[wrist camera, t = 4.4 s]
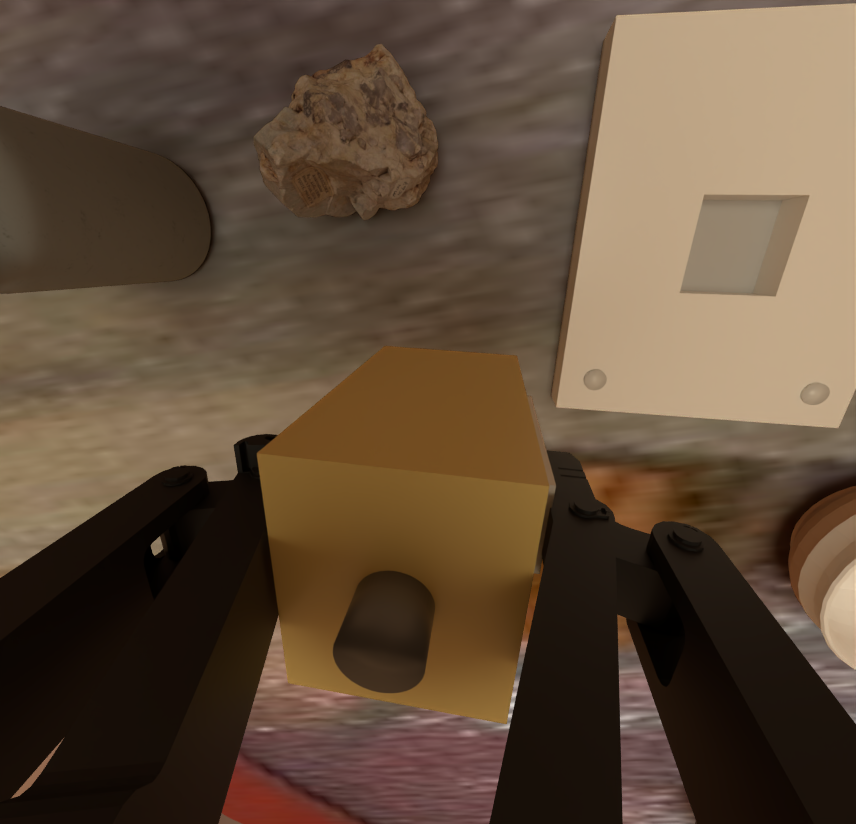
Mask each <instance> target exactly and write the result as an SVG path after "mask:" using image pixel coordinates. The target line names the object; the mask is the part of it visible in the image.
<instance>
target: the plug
mask: <svg viewBox="0 0 856 824" xmlns="http://www.w3.org/2000/svg"><path fill="white" fill-rule="evenodd" d="M257 459H258V467H259V474H260V481H261V489H262V496H263V503H264V510H265V518H266V525H267V532H268V540H269V547H270V554H271V562H272V569H273V576H274V583H275V591H276V598H277V605H278V613H279V620H280V627H281V635H282V642H283V649H284V657H285V664H286V671H287V678H288V683H291V684H296V685H301V686H307V687H312V688H317V689H323V690H328V691H333V692H339V693H344V694H349V695H354V696H360V697H365V698H370V699H376V700H381V701H386V702H392V703H397V704H402V705H408V706H413V707H418V708H423V709H429V710H434V711H439V712H445V713H450V714H455V715H461V716H466V717H471V718H477V719H482V720H487V721H493V722H498V723H503V724H507V718H508V713H509V707H510V702H511V696H512V691H513V685H514V680H515V674H516V669H517V663H518V657H519V652H520V646H521V641H522V635H523V630H524V624H525V619H526V613H527V608H528V602H529V597H530V591H531V586H532V580H533V575H534V569H535V564H536V558H537V553H538V547H539V542H540V536H541V530H542V525H543V519H544V514H545V508H546V503H547V497H548V492H549V482H548V478H547V474H546V470H545V466H544V462H543V458H542V454H541V450H540V446H539V442H538V438H537V434H536V430H535V426H534V422H533V418H532V414H531V410H530V406H529V402H528V398H527V394H526V390H525V386H524V382H523V378H522V374H521V370H520V366H519V362H518V358H517V356H515V355H502V354H488V353H475V352H461V351H448V350H434V349H421V348H407V347H393V346H384V347H383V348H382V349H381V350H379V351H378V352H377V353H376V354H375V355H373V356H372V357H371V358H370V359H369V360H367V361H366V362H365V363H364V364H363V365H361V366H360V367H359V368H358V369H357V370H356V371H354V372H353V373H352V374H351V375H350V376H348V377H347V378H346V379H345V380H344V381H342V382H341V383H340V384H339V385H338V386H336V387H335V388H334V389H333V390H332V391H330V392H329V393H328V394H327V395H326V396H324V397H323V398H322V399H321V400H320V401H318V402H317V403H316V404H315V405H314V406H313V407H311V408H310V409H309V410H308V411H307V412H305V413H304V414H303V415H302V416H301V417H299V418H298V419H297V420H296V421H295V422H293V423H292V424H291V425H290V426H289V427H287V428H286V429H285V430H284V431H283V432H281V433H280V434H279V435H278V436H277V437H275V438H274V439H273V440H272V441H271V442H270V443H268V444H267V445H266V446H265V447H264V448H262V449H261V450H260V451H259V452H258V453H257Z"/></svg>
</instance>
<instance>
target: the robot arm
mask: <svg viewBox="0 0 856 824" xmlns="http://www.w3.org/2000/svg"><path fill="white" fill-rule="evenodd" d="M527 398H528V402H529V406H530V410H531V414H532V418H533V422H534V426H535V430H536V434H537V438H538V442H539V446H540V450H541V454H542V458H543V462H544V466H545V470H546V474H547V478H548V482H549V492H548V497H547V503H546V508H545V514H544V519H543V525H542V530H541V536H540V542H539V547H538V553H537V558H536V564H535V569H534V573H537V574H540V568H541V563H542V559H543V565H544V568H543V573H542V577H541V582H540V587H539V592H538V596H537V601H536V606H535V610H534V615H533V620H532V625H531V629H530V634H529V639H528V644H527V648H526V653H525V658H524V663H523V667H522V672H521V677H520V681H519V686H518V691H517V696H516V700H515V705H514V710H513V715H512V719H511V724H510V729H509V734H508V738H507V743H506V748H505V752H504V757H503V762H502V767H501V771H500V776H499V781H498V786H497V790H496V795H495V800H494V804H493V809H492V814H491V819H490V823H489V824H623V823H622V784H621V744H620V704H619V665H618V625H617V614H618V615H621V616H623V617H626V621H627V625H628V628H629V631H630V633H631V636H632V639H633V642H634V645H635V648H636V651H637V653H638V656H639V659H640V662H641V665H642V668H643V671H644V673H645V676H646V679H647V682H648V685H649V688H650V691H651V693H652V696H653V699H654V702H655V705H656V708H657V710H658V713H659V716H660V719H661V722H662V725H663V728H664V730H665V733H666V736H667V739H668V742H669V745H670V748H671V750H672V753H673V756H674V759H675V762H676V765H677V768H678V770H679V773H680V776H681V779H682V782H683V785H684V788H685V790H686V793H687V796H688V799H689V802H690V805H691V807H692V810H693V813H694V816H695V819H696V822H697V824H856V724H855V723H854V721H853V720H852V719H851V717H850V716H849V715H848V713H847V712H846V711H845V709H844V708H843V707H842V706H841V704H840V703H839V702H838V700H837V699H836V698H835V696H834V695H833V694H832V692H831V691H830V690H829V689H828V687H827V686H826V685H825V683H824V682H823V681H822V679H821V678H820V677H819V675H818V674H817V673H816V672H815V670H814V669H813V668H812V666H811V665H810V664H809V662H808V661H807V660H806V658H805V657H804V656H803V654H802V653H801V652H800V651H799V649H798V648H797V647H796V645H795V644H794V643H793V641H792V640H791V639H790V637H789V636H788V635H787V634H786V632H785V631H784V630H783V628H782V627H781V626H780V624H779V623H778V622H777V620H776V619H775V618H774V617H773V615H772V614H771V613H770V611H769V610H768V609H767V607H766V606H765V605H764V603H763V602H762V601H761V600H760V598H759V597H758V596H757V594H756V593H755V592H754V590H753V589H752V588H751V586H750V585H749V584H748V583H747V581H746V580H745V579H744V577H743V576H742V575H741V573H740V572H739V571H738V569H737V568H736V567H735V566H734V564H733V563H732V562H731V560H730V559H729V558H728V556H727V555H726V554H725V552H724V551H723V550H722V548H721V547H720V546H719V545H718V544H717V543H716V542H715V541H714V540H713V539H712V538H711V537H710V536H708V535H707V534H705V533H703V532H702V531H700V530H699V529H697V528H695V527H693V526H692V527H691V526H690V525H687V524H682V523H677V522H660V523H657V524H655V526H654V527H653V529H652V531H651V534H647V533H644V532H641V531H638V530H634V529H631V528H628V527H626V526H623V525H621V524H619V523H617V522H615V517H614V514H613V512H612V511H611V510H610V509H609V508H608V507H607V506H606V505H605V504H603V503H601V502H600V501H598V500H596V499H595V497H594V495H593V492H592V490H591V488H590V485H589V483H588V480H587V479H586V476H585V473H584V472H583V469H582V466H581V464H580V462H579V461H578V460H577V459H576V458H575V457H574V456H573V455H571V454H570V453H566V452H556V451H547V450H546V447H545V444H544V440H543V437H542V433H541V430H540V426H539V422H538V419H537V415H536V412H535V408H534V404H533V401H532V397H531V396H527ZM277 436H278V435H272V434H263V435H255V436H251V437H247V438H244V439H242V440H240V441H238V442H237V443H236V444H235V445H234V451H235V457H236V463H237V469H238V474H237V475H236V477H235V478H234V480H229V481H214V482H208V478H207V472H206V471H205V470H204V469H203V468H201V467H197V466H186V465H185V466H180V467H179V466H177V467H173V468H171V469H169V470H165V471H163V472H161V473H159V474H157V475H155V476H153V477H152V478H150V479H149V480H147V481H146V482H144V483H143V484H141V485H140V486H138V487H137V488H135V489H134V490H132V491H131V492H129V493H128V494H126V495H125V496H123V497H122V498H120V499H119V500H117V501H116V502H114V503H113V504H111V505H110V506H108V507H107V508H105V509H104V510H102V511H101V512H99V513H98V514H96V515H95V516H93V517H92V518H90V519H89V520H87V521H86V522H84V523H83V524H81V525H79V526H78V527H76V528H75V529H73V530H72V531H70V532H69V533H67V534H66V535H64V536H63V537H61V538H60V539H58V540H57V541H55V542H54V543H52V544H51V545H49V546H48V547H46V548H45V549H43V550H42V551H40V552H39V553H37V554H36V555H34V556H33V557H31V558H30V559H28V560H27V561H25V562H24V563H22V564H21V565H19V566H18V567H16V568H15V569H13V570H12V571H10V572H9V573H7V574H6V575H4V576H3V577H1V578H0V824H218V823H219V819H220V816H221V812H222V809H223V806H224V802H225V799H226V795H227V792H228V788H229V785H230V781H231V778H232V774H233V771H234V767H235V764H236V760H237V757H238V753H239V750H240V747H241V743H242V740H243V736H244V733H245V729H246V726H247V722H248V719H249V715H250V712H251V708H252V705H253V701H254V698H255V695H256V691H257V688H258V684H259V681H260V677H261V674H262V670H263V667H264V663H265V660H266V656H267V653H268V649H269V646H270V642H271V639H272V636H273V632H274V629H275V625H276V622H277V618H278V615H279V613H278V605H277V598H276V591H275V583H274V576H273V569H272V562H271V554H270V547H269V540H268V532H267V525H266V518H265V510H264V503H263V496H262V489H261V481H260V474H259V467H258V459H257V453H258V452H259V451H260V450H261V449H262V448H264V447H265V446H266V445H267V444H268V443H270V442H271V441H272V440H273V439H274V438H275V437H277ZM159 536H160V538H161V541H162V545H163V550H162V551H161V552H160V553H158V554H157V555H155V556H154V555H153V553H152V550H151V546H150V545H151V544H152V543H153V542H154V541H155V540H156V539H157V538H158V537H159ZM64 737H65V738H64ZM63 738H64V739H63ZM62 739H63V741H62V742H61V740H62ZM60 742H61V744H60V745H59V747H58V748H57V750H56V751H55V753H54V755H53V756H52V758H51V759H50V761H49V762H48V764H47V765H46V767H45V769H44V770H43V771H42V773H41V774H40V775H39V777H38V778H37V779H36V781H35V782H34V783H33V784H32V786H31V787H30V788H28V789H27V790H26V791H25V792H24V793H22V794H21V795H20V796H18V797H15V798H12V796H13V795H14V794H15V793H16V792H17V791H18V790H19V788H20V787H21V786H22V785H23V784H24V783H25V781H26V780H27V779H28V778H29V777H30V776H31V775H32V774H33V772H34V771H35V770H36V769H37V768H38V767H39V765H40V764H41V763H42V762H43V761H44V760H45V759H46V758H47V756H48V755H49V754H50V753H51V752H52V751H53V750H54V748H55V747H56V746H57V745H58V744H59V743H60Z"/></svg>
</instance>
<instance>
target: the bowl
mask: <svg viewBox="0 0 856 824" xmlns="http://www.w3.org/2000/svg"><path fill="white" fill-rule="evenodd" d="M788 566H789V574H790V581H791V587H792V589H793V591H794V593H795V596H796V598H797V599H798V601H799V602H800V604H801V605H802V607H803V609H804V611H805V613H806V614H807V615H808V616H809V617H810V619H811V620H812V621H813V622H814V623H815V624H816V625H817V626H818V627H819V628H820V629H821V631H822V634H823V636H824V638H825V641H826V643H827V645H828V646H829V647H830V649H831V650H832V651H833V652H834V653H835V655H836V656H837V657H838V658H839V659H841V660H842V661H843V662H845V663H846V664H848V665H849V666H850V667H852V668H853V669H855V670H856V486H853V487H849V488H847V489H844V490H841V491H838V492H835V493H833V494H831V495H829V496H827V497H825V498H823V499H822V500H820V501H819V502H817V503H816V504H814V505H813V506H812V507H811V508H810V509H809V510H807V511H806V512H805V513H804V514H803V515H802V517H801V518H800V519H799V521H798V522H797V524H796V525H795V528H794V530H793V532H792V535H791V541H790V553H789V559H788Z"/></svg>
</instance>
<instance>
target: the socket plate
mask: <svg viewBox="0 0 856 824" xmlns="http://www.w3.org/2000/svg"><path fill="white" fill-rule="evenodd" d="M855 389H856V3H855V4H835V5H815V6H795V7H775V8H755V9H736V10H716V11H696V12H676V13H656V14H636V15H617V16H616V18H615V20H614V22H613V24H612V26H611V27H610V29H609V31H608V33H607V35H606V37H605V39H604V41H603V46H602V53H601V59H600V66H599V73H598V80H597V86H596V93H595V100H594V107H593V114H592V120H591V127H590V134H589V141H588V147H587V154H586V161H585V168H584V175H583V181H582V188H581V195H580V202H579V208H578V215H577V222H576V229H575V236H574V242H573V249H572V256H571V263H570V269H569V276H568V283H567V290H566V296H565V303H564V310H563V317H562V324H561V330H560V337H559V344H558V351H557V357H556V364H555V371H554V378H553V385H552V391H551V396H552V399H553V401H554V403H555V406H556V407H559V408H573V409H586V410H600V411H614V412H627V413H641V414H654V415H668V416H682V417H695V418H709V419H722V420H736V421H750V422H763V423H777V424H790V425H804V426H817V427H831V428H838V427H839V425H840V423H841V421H842V418H843V416H844V414H845V412H846V409H847V407H848V405H849V403H850V400H851V398H852V396H853V394H854V392H855Z"/></svg>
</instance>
